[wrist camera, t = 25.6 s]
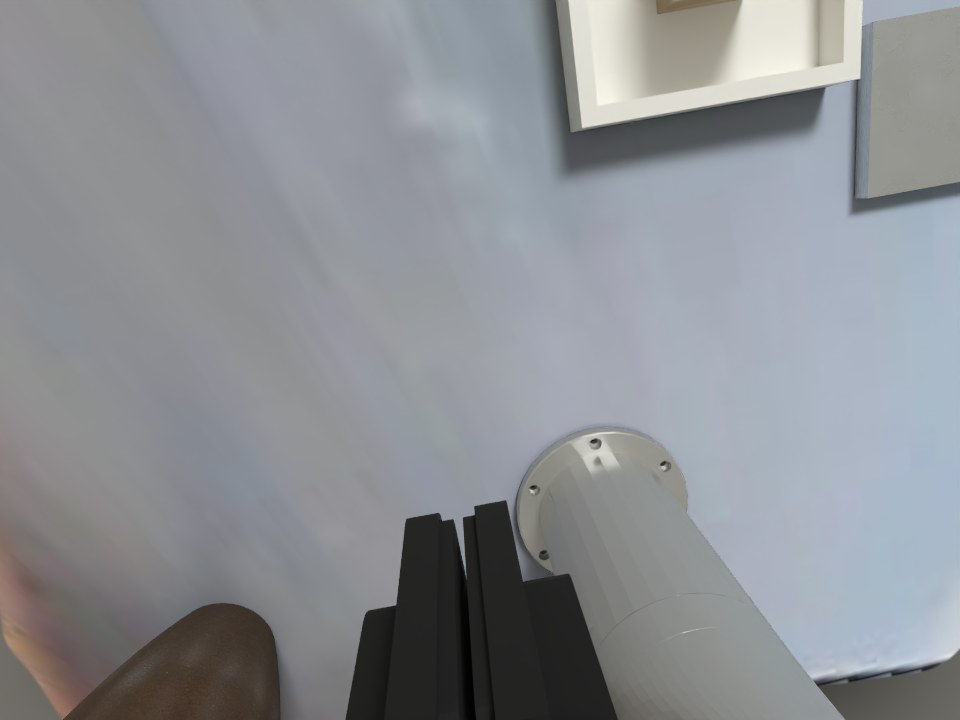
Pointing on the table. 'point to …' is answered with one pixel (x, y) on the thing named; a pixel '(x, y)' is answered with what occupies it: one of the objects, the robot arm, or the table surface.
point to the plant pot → (195, 673)
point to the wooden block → (684, 4)
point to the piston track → (908, 104)
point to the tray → (700, 55)
